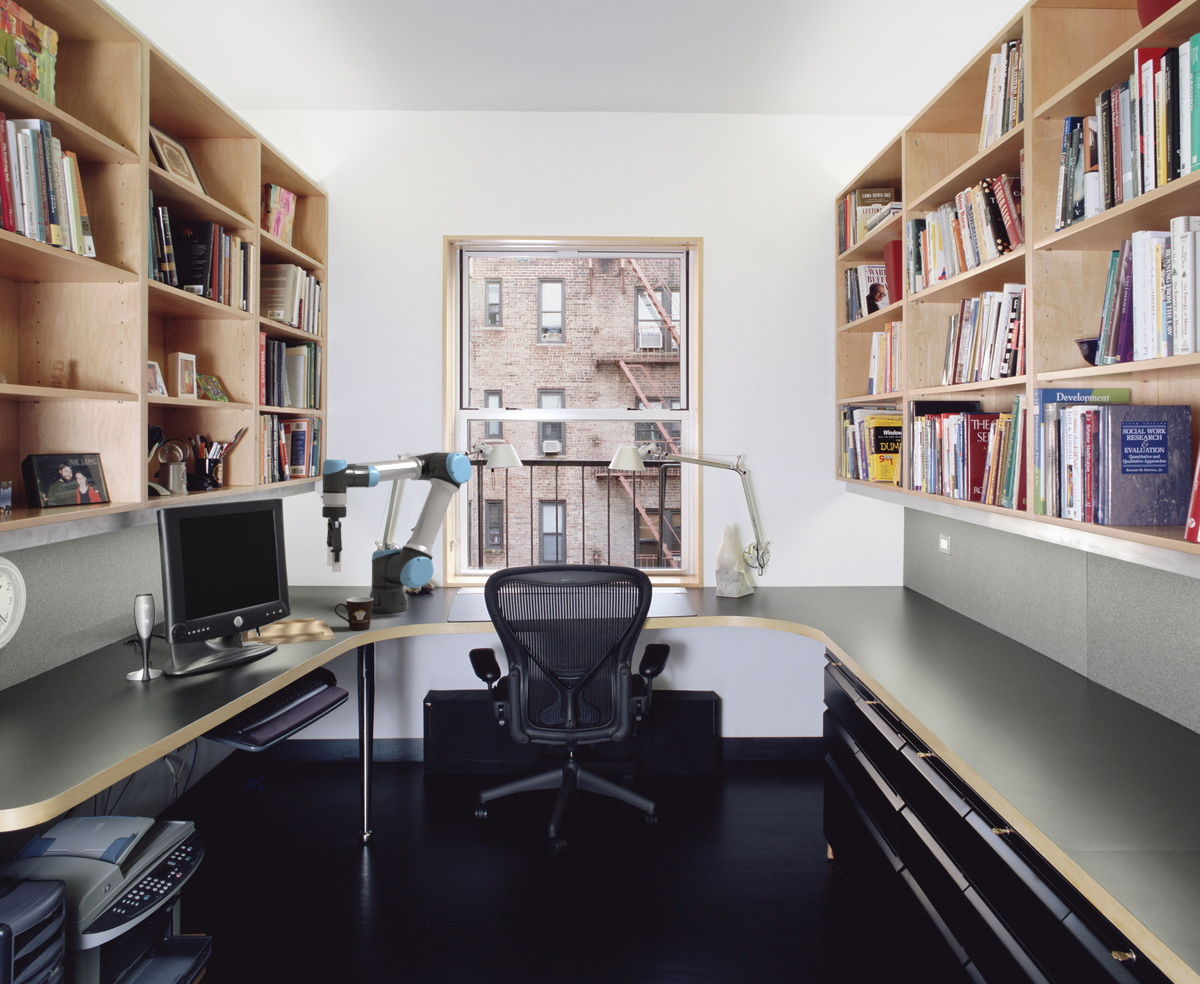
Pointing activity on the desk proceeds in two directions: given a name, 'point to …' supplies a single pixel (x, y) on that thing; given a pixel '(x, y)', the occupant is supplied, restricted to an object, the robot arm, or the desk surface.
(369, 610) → the coffee mug
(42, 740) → the desk surface
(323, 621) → the channel board
